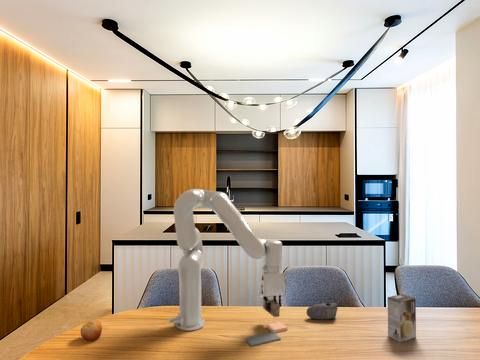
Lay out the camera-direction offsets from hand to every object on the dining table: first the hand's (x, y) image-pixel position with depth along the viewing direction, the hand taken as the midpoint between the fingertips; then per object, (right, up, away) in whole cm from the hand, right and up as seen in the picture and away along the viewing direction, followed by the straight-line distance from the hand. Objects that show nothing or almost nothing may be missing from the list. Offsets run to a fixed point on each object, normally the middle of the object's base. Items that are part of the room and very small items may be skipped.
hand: (271, 309), depth 144 cm
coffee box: (+52, -7, -10) cm, 54 cm away
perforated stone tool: (+25, -7, +8) cm, 27 cm away
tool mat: (-4, -7, -12) cm, 15 cm away
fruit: (-74, -7, -11) cm, 75 cm away
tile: (+1, -6, 0) cm, 7 cm away
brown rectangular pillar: (0, -1, 0) cm, 1 cm away
